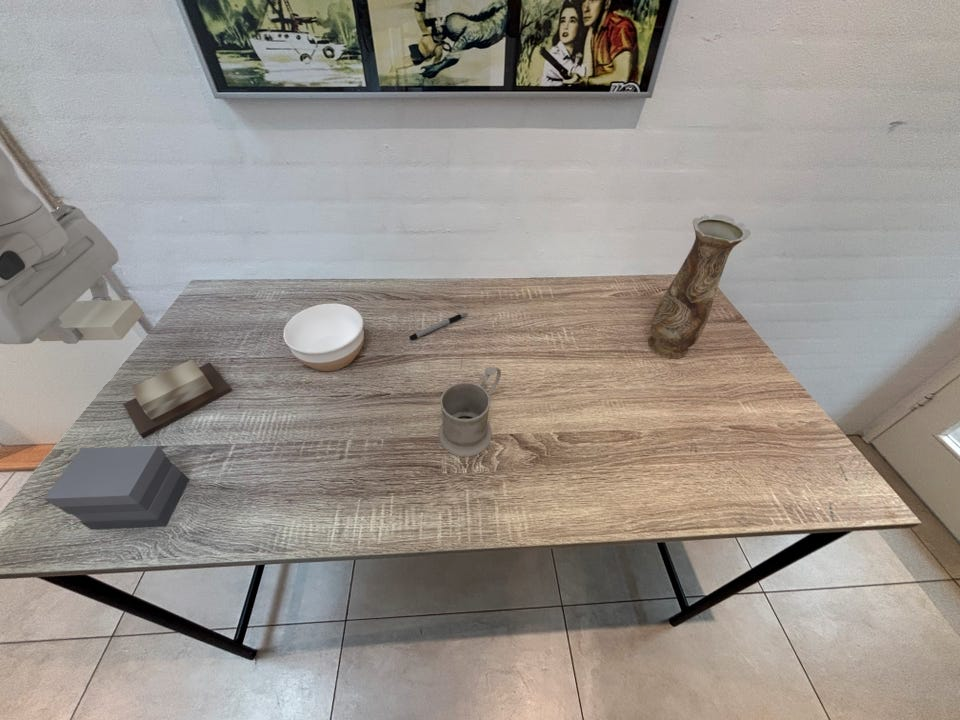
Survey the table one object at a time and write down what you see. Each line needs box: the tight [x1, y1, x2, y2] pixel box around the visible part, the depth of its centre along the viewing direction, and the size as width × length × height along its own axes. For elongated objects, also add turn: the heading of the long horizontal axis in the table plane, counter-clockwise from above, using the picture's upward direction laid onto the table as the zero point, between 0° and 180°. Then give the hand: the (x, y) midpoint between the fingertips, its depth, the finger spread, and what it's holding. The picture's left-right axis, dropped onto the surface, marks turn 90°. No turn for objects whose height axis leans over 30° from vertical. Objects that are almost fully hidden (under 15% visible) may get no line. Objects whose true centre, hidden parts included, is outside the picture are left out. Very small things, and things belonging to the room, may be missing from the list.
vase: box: [647, 214, 751, 360], centre depth 85 cm, size 10×11×30 cm
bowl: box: [282, 303, 365, 372], centre depth 88 cm, size 16×16×8 cm
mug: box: [438, 366, 502, 458], centre depth 73 cm, size 14×10×12 cm
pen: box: [409, 312, 468, 341], centre depth 97 cm, size 1×16×1 cm, turn 127°
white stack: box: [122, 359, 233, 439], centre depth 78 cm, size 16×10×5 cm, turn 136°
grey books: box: [43, 445, 190, 531], centre depth 62 cm, size 11×8×10 cm
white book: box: [37, 299, 144, 342], centre depth 59 cm, size 11×6×2 cm, turn 93°
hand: (91, 323), depth 59 cm, fingers closed on white book, 6 cm apart
